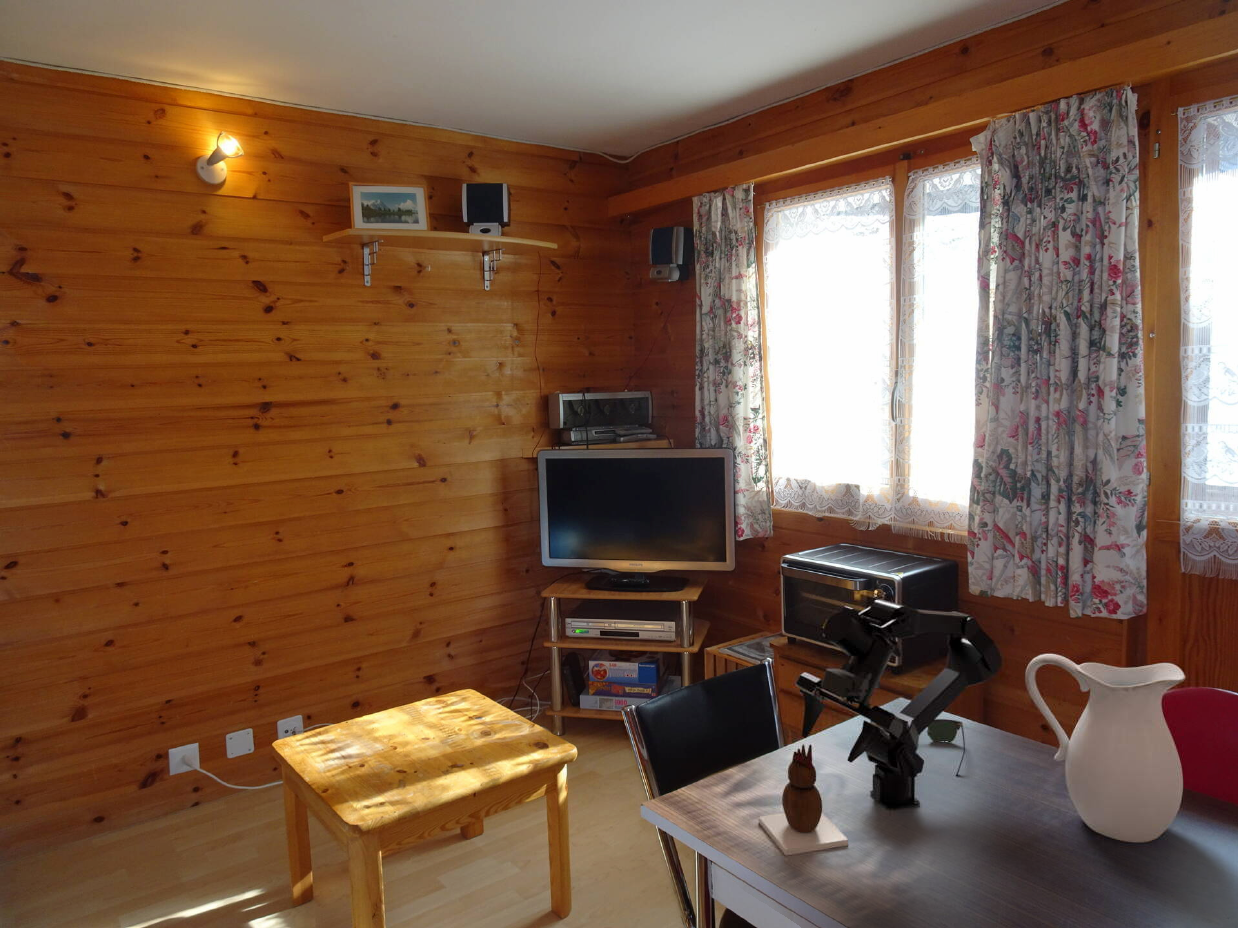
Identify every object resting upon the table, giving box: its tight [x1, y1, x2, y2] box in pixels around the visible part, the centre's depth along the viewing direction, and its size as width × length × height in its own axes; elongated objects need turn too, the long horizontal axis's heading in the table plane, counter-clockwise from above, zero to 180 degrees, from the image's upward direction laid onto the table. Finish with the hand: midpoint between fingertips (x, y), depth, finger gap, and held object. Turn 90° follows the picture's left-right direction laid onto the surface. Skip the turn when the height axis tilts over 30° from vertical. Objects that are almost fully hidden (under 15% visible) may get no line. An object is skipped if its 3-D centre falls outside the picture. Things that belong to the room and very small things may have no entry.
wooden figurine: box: [781, 744, 823, 832], centre depth 146 cm, size 7×6×15 cm
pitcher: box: [1024, 653, 1186, 843], centre depth 147 cm, size 24×17×28 cm
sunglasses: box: [926, 718, 966, 777], centre depth 175 cm, size 16×17×5 cm
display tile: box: [758, 812, 849, 856], centre depth 146 cm, size 11×11×1 cm
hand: (825, 749), depth 148 cm, fingers open, 9 cm apart
